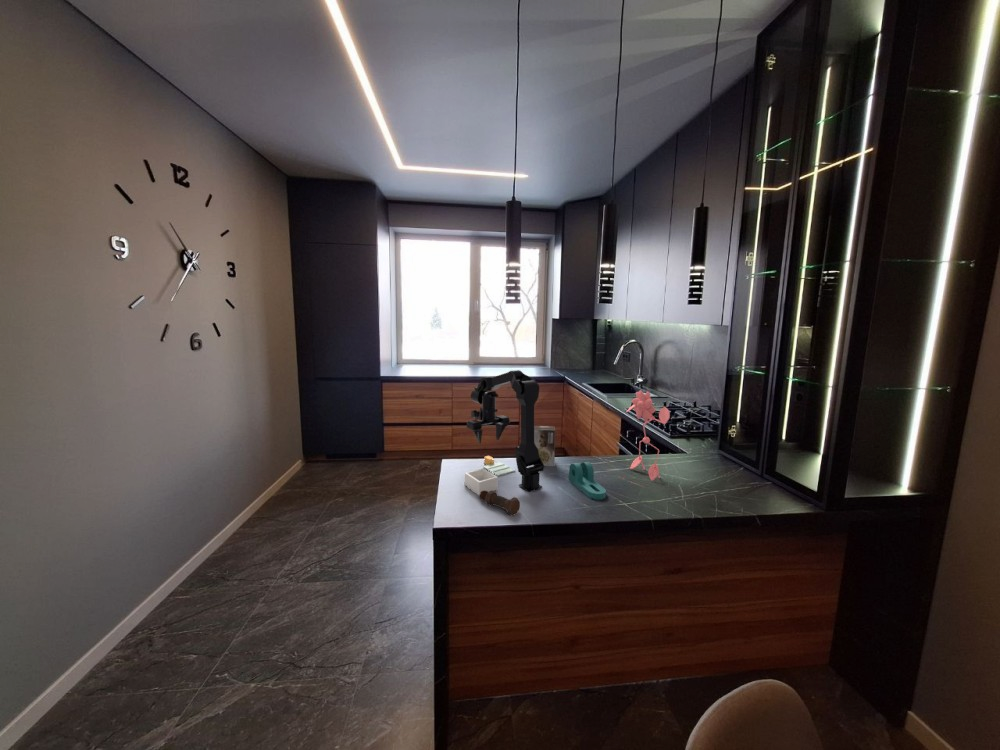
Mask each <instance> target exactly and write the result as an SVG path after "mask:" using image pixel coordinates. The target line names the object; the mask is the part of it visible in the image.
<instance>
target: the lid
mask: <svg viewBox="0 0 1000 750" xmlns="http://www.w3.org/2000/svg"><path fill="white" fill-rule="evenodd" d="M483 459H485V460H483V464H485V465H482V468H483V467H484V468H485V470H486V469H487V470H489V471H491V472H493V473H494V474H496V475H497V477H501V476H500V475H502V476H505V475H509V474H512V473H511V472H513V473H516V469H514V468H512V467H510V466H509V465H507V464H505V463H503V462H501V461H498V462H495V458H493V457H492V456H490V455H486V456H484V457H483ZM492 459H494V460H492ZM486 464H487V465H486ZM484 468H483V469H484ZM487 470H486V471H487ZM489 471H488V472H489ZM491 472H490V473H491ZM508 473H509V474H508ZM494 474H493V475H494ZM504 474H505V475H504ZM496 475H495V476H496Z"/></svg>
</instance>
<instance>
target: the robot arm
mask: <svg viewBox="0 0 1000 750" xmlns="http://www.w3.org/2000/svg"><path fill="white" fill-rule="evenodd" d="M506 384H510V385H511V386H510V387H511V389H512V390H513V391H514V392H515V396H516V400H517V401H518V403H519V404H520V443H519V445H518V446H515V448H514V449H515V451H514V452H515V455H514V457H515V461H516V467H517V472H518V473H519V474H520V475H521V483H519V484H518V487H520V488H522V489H523V490H525V491H527V492H529V493H531V492H534V491H537V490H540V489H543V486H542V485H540V477H541V476H540V472H544V470H545V467H546V466H544V464H543V462H542V460H541V458H540V456H539V451H538V448H537V447H536V445H535V443H534V426H535V404H537V401H538V399H539V396H540V385H539V383H538V382H537V381H536V380H534V379H533V378H532V377H531V376H529V375H528V374H525V373H524V372H522V370H520V369H516V370H515V369H514V370H509V371H508V372H505V373H502V374H498V375H496V376H495V375H494V376H485V377H484V376H482V377H481V378H480V380H479V382H478V385H477V386H474V389H473V390H472V392H471V394H470V399H471V401H472V402H473V403H477V404H480V405H481V407H480V409H479V411H478V410H477V409H475V410H470V411H471V412H470V415H471V420H468V421H467V422H466V428H467V429H469V430H470V431H473V433H474V436H475V438H476V441H477V443H478V445H481V443H482V437H483V429H482V428H483V426H489V425H493V424H494V426H495V439H496V440H495V441H499V440H500V438H501V436H502V434H503V432H504V430H505V429H506V427H508V425H509V424H511V419H510V417H508V416H506V415H503V414H501V415H496V412H498V409H497V408H496V407H497V406H496V405H497V404H496V403H497V398H499V394H498V393H497V392H496V390H498V389H499V388H501V386H503V385H506ZM533 465H534V466H533Z"/></svg>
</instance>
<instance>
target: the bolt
mask: <svg viewBox="0 0 1000 750" xmlns="http://www.w3.org/2000/svg"><path fill="white" fill-rule="evenodd" d="M480 493H481V494H480V495H478V496H479V499H480V500H482V501H485V504H487V506H490V505H491V506H494V505H495V506H497V507H500V508H502V509H504V510H505V511H506V512H507V514H508V515H509V516H511V515H512V516H515V515H517V514H518V512H519V511H520V509H521V501H520V500H519V499H518V497H515V496H513V497H511V498H510V499H509V498H506V497H504V496H501V495H498V493H497V491H493V490H492V491H489V492H488V491H482V492H480ZM493 504H494V505H493ZM516 513H517V514H516ZM514 514H515V515H514Z"/></svg>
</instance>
